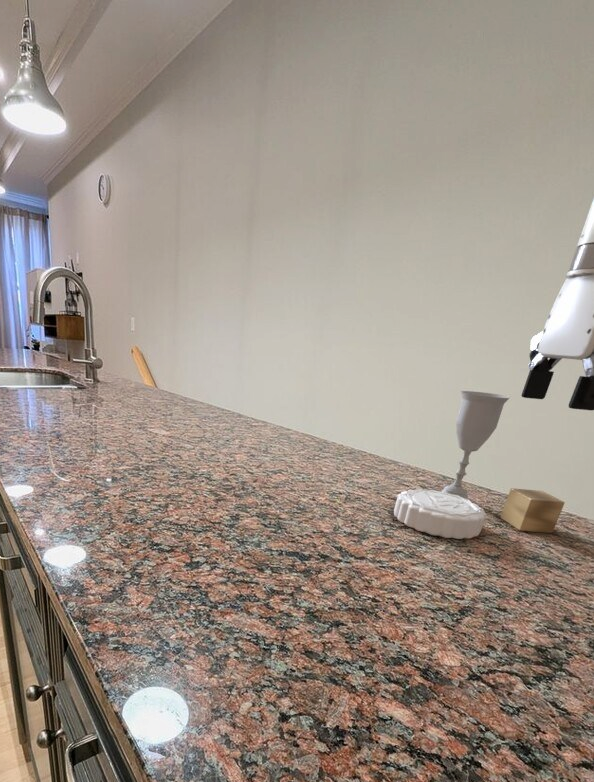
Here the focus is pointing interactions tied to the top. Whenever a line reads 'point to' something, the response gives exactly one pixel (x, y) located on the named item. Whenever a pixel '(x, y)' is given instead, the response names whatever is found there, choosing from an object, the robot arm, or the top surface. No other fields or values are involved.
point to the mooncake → (439, 513)
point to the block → (532, 510)
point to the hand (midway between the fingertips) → (554, 403)
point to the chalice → (474, 429)
